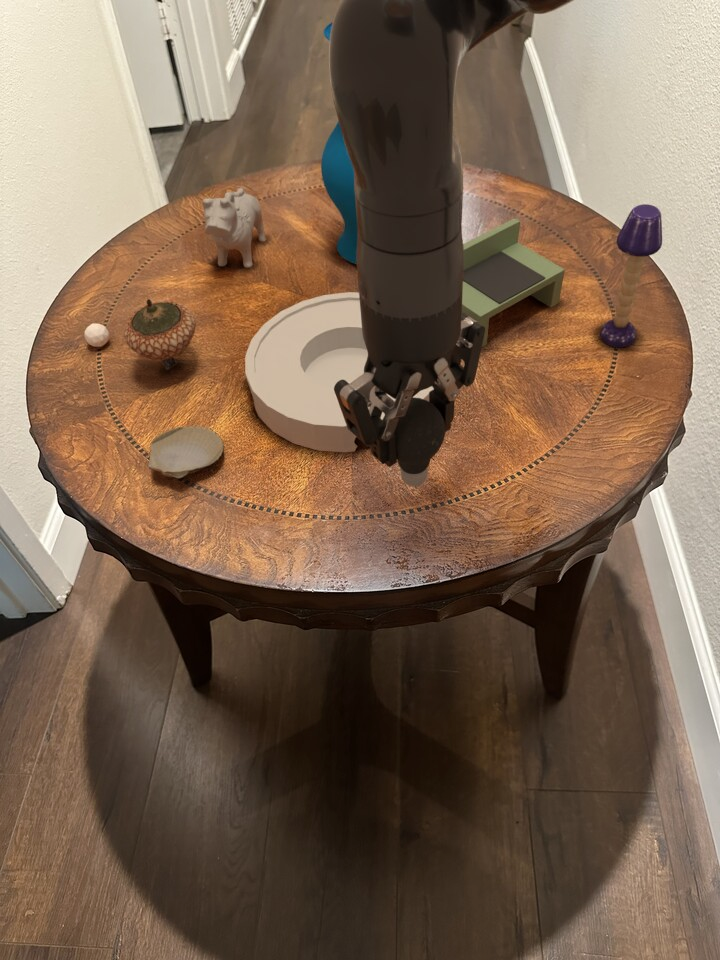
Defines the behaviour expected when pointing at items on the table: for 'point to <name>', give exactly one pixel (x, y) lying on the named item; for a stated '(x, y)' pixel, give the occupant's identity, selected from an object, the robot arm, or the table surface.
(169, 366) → the acorn
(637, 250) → the toy lamp
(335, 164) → the vase
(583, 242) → the table surface
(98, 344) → the polyhedron
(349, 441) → the beige round base
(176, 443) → the seashell
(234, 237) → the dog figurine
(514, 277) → the bench
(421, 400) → the light bulb
